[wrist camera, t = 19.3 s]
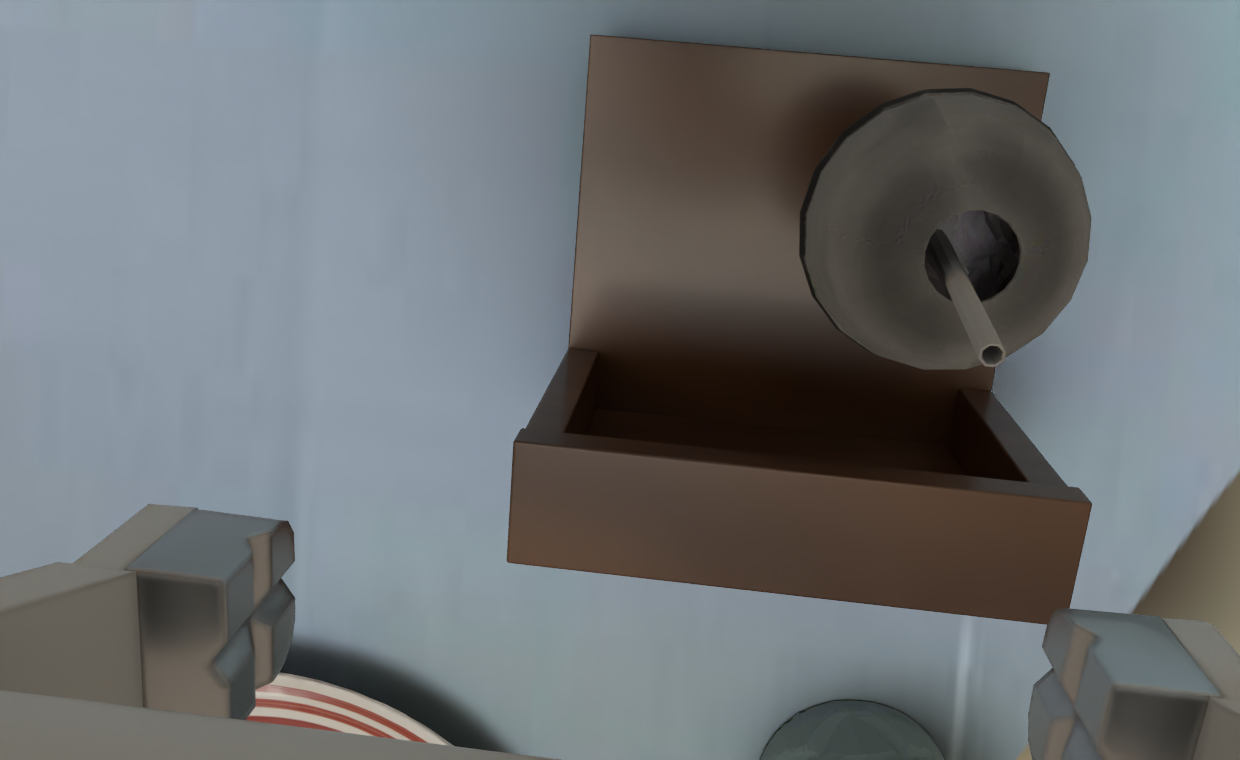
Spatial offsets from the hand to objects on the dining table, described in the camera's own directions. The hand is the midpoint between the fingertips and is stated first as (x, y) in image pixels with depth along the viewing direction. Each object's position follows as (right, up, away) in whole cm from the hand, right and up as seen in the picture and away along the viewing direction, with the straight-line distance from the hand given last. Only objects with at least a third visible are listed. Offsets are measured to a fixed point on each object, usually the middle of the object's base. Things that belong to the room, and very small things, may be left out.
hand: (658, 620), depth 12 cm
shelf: (+6, +8, +32) cm, 33 cm away
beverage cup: (+9, +10, +28) cm, 31 cm away
